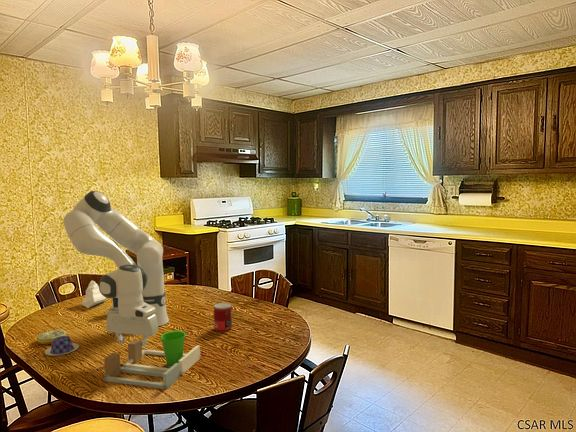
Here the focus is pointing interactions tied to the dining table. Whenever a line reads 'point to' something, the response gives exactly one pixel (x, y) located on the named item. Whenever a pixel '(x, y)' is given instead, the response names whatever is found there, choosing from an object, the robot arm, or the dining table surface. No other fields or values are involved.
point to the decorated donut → (50, 336)
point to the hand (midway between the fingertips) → (132, 344)
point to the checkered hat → (61, 346)
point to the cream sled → (137, 353)
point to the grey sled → (114, 369)
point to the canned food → (222, 317)
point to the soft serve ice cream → (93, 295)
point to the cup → (173, 346)
